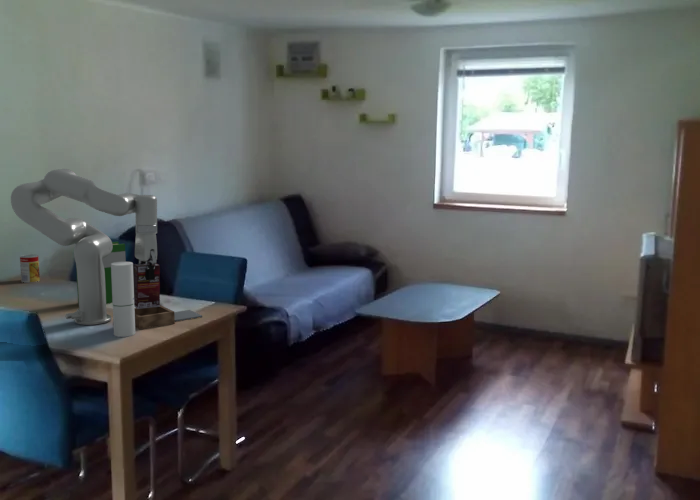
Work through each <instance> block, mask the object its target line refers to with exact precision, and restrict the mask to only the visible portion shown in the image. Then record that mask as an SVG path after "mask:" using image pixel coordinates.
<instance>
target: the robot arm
mask: <svg viewBox="0 0 700 500" xmlns="http://www.w3.org/2000/svg"><path fill="white" fill-rule="evenodd" d="M60 197H65V198H69V199H72V200H74V201H77V202H81V203H83V204H85V205H86V206H88V207H90V208H92V209H94V210H96V211H99V212H102V213H106V214H108V215H111V216H115V217H123V216H127V215H131V214H135V242H134V257H135V258H136V259H137V261H138V264H146V269H145V279H146V280H154V278H155V277H154V269H155V264H156V263H157V260H158V243H157V242H158V241H157V235H156V234H158V198H157V196H155V195H153V194H137V193H130V192H129V193H128V192H126V193H120V194H116V193H112V192H109V191H106V190H104V189H102V188H99V187H98V186H97V185H96V184H95V181H93V180H92V179H88V178H85V177H81V176H79V175H77V173H75V172H74V171H73V170H71V169H68V168H60V169H53V170H52V169H51V170H50V171H48V172H47V173H45V176H44V178H43V179H40V180H38V181H34V182H26V183H22V184H20V185H17V186H16V187H14V189H13V190H12V192H11V195H10V204H11V208H12V210H13V212H14V214H16V216H17V217H18V218H19V220H21V221H23V223H26V224H27V225H28V226H30V227H32V228H33V229H35V230H36V231H38V232H39V233H40V234H42V235H44V236H46V238H49V239H50V240H51V241H53V242H55V243H56V244H58V245H60V246H62V247H68V246H72V245H74V244H75V245H74V249H73V256H74V261H75V268H76V267H77V271H76V280H77V279H78V291H77V297H78V296H79V304H78V308H77V309H76V311H74V312H69V313H68V312H67V313H65V319H67V320H68V319H71V320H74V321H75V323H76V324H78V325H80V326H81V325H84V326H94V325H101V324H107V323H109V322H110V321H111V320H112V316H111V315H110V314H108V313H107V311H108V310H107V304H106V287H105V270H104V266H103V262H102V258H104V257H106V256H108V255H109V254H110V253H111V251H112V248H113V244H112V242H113V241H112V240H111V238H110V237H109V236H108V235H107V234H106V233H104V232H103V231H101V230H99V229H98V228H96V227H95V226H93V225H92V224H90V223H89V222H87V221H85V220H84V219H81V218H78V217H70V218H64V217H62V216H60V215H58V214H56V213H55V211H54V212H53V211H52V210H51V209H48V208H46V207H44V206H41V205H44V204H47V203H50V202H51V201H54V200H56V199H58V198H60Z"/></svg>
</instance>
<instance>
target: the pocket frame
mask: <svg viewBox="0 0 700 500" xmlns="http://www.w3.org/2000/svg"><path fill="white" fill-rule="evenodd" d="M134 309H135V329H138V330H144V329H151V328H156V327H162V326H167V325H174V324H176V323H175V316H174V312H175V311H173V310H171V309H170V308H167V307H166V306H163V305H161V304H160V307H152V308H142V309H137V308H135V307H134Z"/></svg>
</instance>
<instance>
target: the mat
mask: <svg viewBox="0 0 700 500" xmlns="http://www.w3.org/2000/svg"><path fill="white" fill-rule="evenodd" d="M174 316H175V322H176V323H177V322H181V321H180V320H182V321H187V320H186V319H188V320H192V319H191V318H194V319H198V318H197V317H200V318H203V315H202V314H200V313H198V312H195V311H193V310H191V309H187V310H180V311H174Z"/></svg>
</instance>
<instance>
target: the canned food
mask: <svg viewBox="0 0 700 500" xmlns="http://www.w3.org/2000/svg"><path fill="white" fill-rule="evenodd" d="M39 259H40V258H39V254H32V253H31V254H22V255H20V256H19V264H20V279H21V280H20V282H21V283H23V282H24V283H25V284H29V283H31V282H33V283H38V282H40V281H41V280H40V277H41V276H40V260H39ZM37 281H38V282H37ZM24 283H23V284H24Z"/></svg>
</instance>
